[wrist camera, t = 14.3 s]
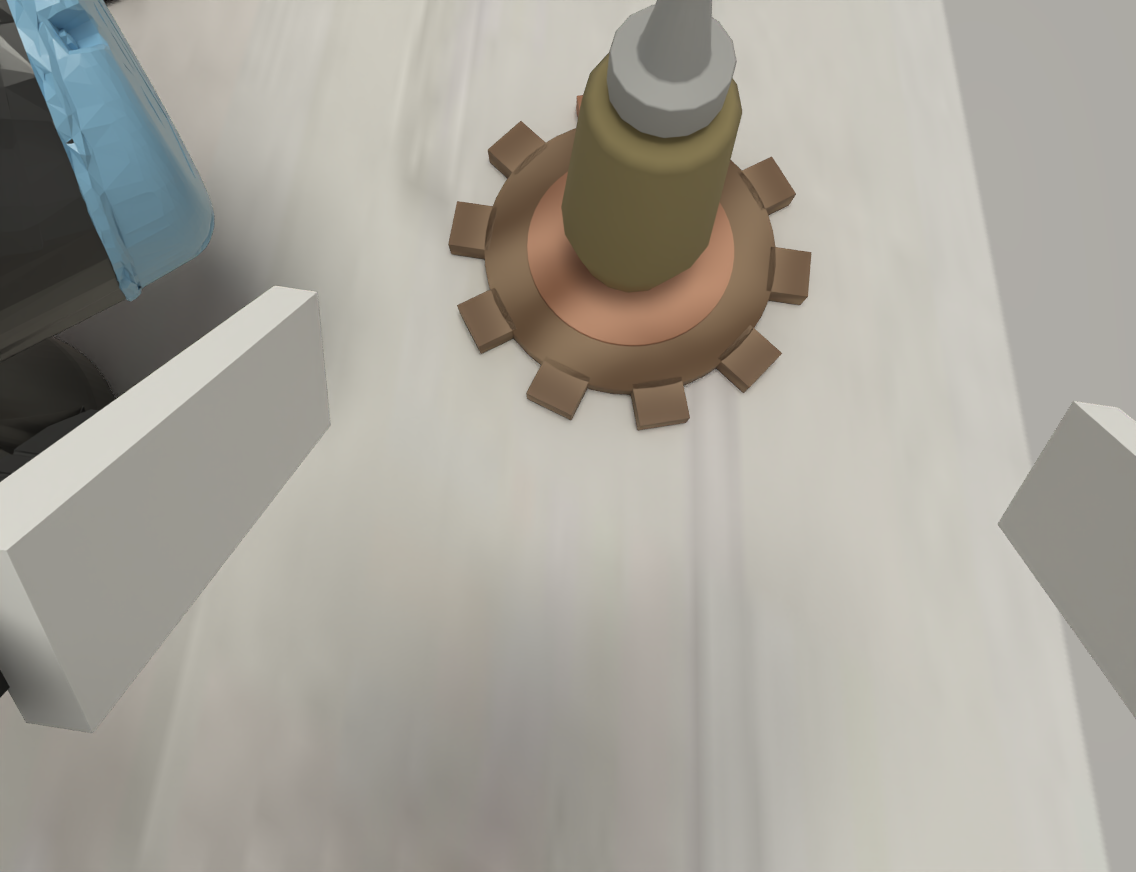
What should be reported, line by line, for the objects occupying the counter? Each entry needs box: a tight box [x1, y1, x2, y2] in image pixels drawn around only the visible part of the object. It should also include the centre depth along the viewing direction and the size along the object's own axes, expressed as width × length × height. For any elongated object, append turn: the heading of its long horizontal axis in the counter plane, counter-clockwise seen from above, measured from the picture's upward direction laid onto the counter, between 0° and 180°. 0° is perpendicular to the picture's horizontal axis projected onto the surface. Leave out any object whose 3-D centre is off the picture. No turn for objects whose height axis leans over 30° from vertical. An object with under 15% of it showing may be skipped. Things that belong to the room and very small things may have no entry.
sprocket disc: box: [448, 95, 811, 430], centre depth 39 cm, size 21×21×2 cm
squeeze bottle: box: [561, 0, 742, 293], centre depth 29 cm, size 8×8×18 cm
